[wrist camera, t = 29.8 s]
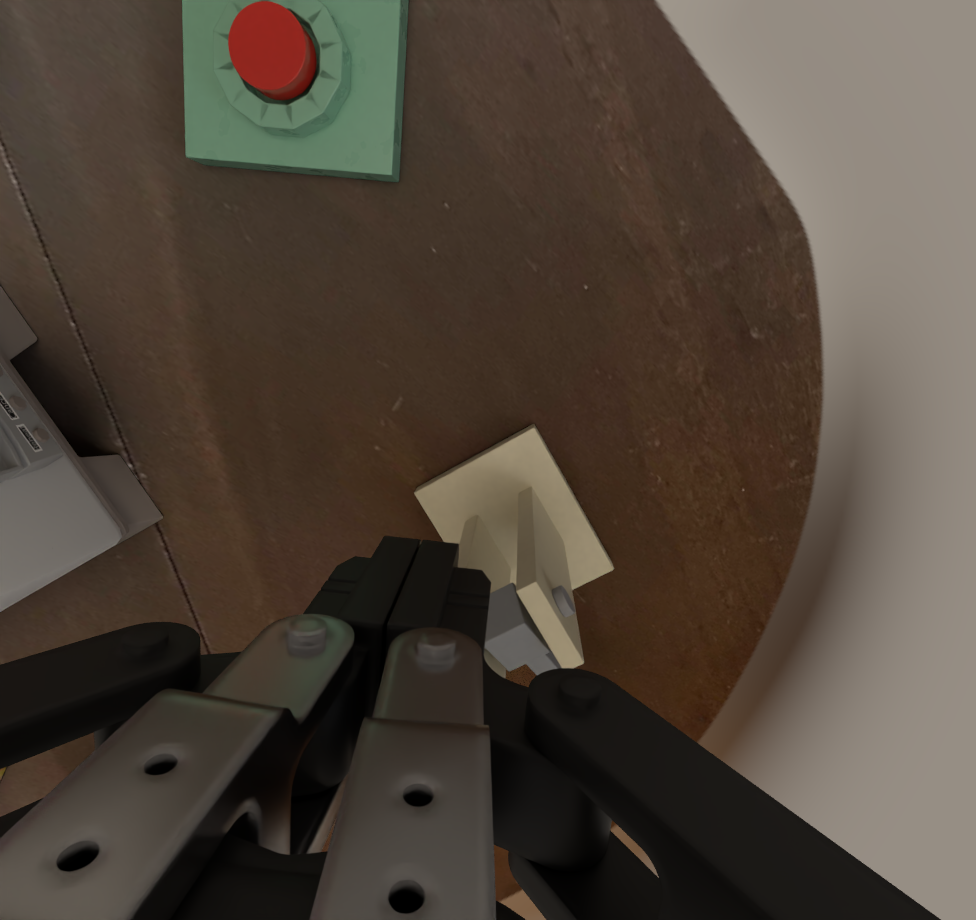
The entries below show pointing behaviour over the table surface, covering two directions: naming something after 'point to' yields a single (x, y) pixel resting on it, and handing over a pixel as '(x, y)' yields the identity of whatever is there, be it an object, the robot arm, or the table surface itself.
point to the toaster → (53, 485)
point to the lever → (516, 634)
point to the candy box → (2, 772)
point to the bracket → (521, 533)
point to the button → (272, 50)
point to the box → (319, 109)
